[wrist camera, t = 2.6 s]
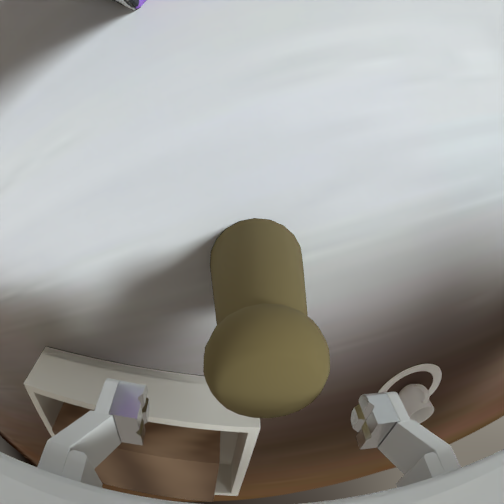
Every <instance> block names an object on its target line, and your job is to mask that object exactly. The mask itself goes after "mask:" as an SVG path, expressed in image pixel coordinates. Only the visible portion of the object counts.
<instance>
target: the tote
mask: <svg viewBox="0 0 504 504" xmlns="http://www.w3.org/2000/svg"><path fill="white" fill-rule="evenodd" d="M107 378H110V379H115V380H120V381H125V382H130V383H135V384H141V385H146V386H147V390H148V393H147V398H148V399H149V416H148V422H154V423H160V424H166V425H173V426H180V427H188V428H197V429H206V430H216V431H221V432H220V464H219V470H218V476H217V482H216V488H215V493H214V495H229V496H238V493H239V490H240V487H241V485H242V482H243V479H244V476H245V473H246V470H247V467H248V464H249V461H250V458H251V455H252V452H253V449H254V446H255V443H256V440H257V437H258V434H259V431H260V418H252V417H247V416H243V415H239V414H237V413H235V412H233V411H230V410H228V409H226V408H225V407H224V406H223V405H222V404H221V403H220V402H219V401H218V400H217V399H216V398H215V397H214V396H213V394H212V393H211V391H210V389H209V387H208V385H207V382H206V380H205V376H198V375H190V374H182V373H175V372H168V371H161V370H155V369H148V368H142V367H137V366H131V365H125V364H120V363H115V362H110V361H105V360H100V359H96V358H91V357H87V356H82V355H78V354H74V353H70V352H66V351H62V350H58V349H54V348H50V347H45V349H44V350H43V352H42V353H41V355H40V357H39V358H38V360H37V362H36V363H35V365H34V367H33V368H32V370H31V372H30V373H29V375H28V377H27V379H26V380H25V382H24V386H25V388H26V390H27V392H28V394H29V396H30V398H31V400H32V402H33V404H34V406H35V408H36V410H37V412H38V413H39V415H40V417H41V419H42V421H43V423H44V424H45V426H46V428H47V430H48V431H49V433H50V435H51V437H53V436H55V434H54V433H53V431H52V428H53V426H54V423H55V421H56V419H57V416H58V414H59V412H60V409H61V407H62V405H63V403H64V402H66V403H69V404H73V405H77V406H80V407H84V408H88V409H92V410H95V407H96V404H97V401H98V399H99V396H100V393H101V390H102V387H103V385H104V382H105V380H106V379H107Z"/></svg>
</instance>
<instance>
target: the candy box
mask: <svg viewBox="0 0 504 504" xmlns="http://www.w3.org/2000/svg"><path fill="white" fill-rule="evenodd" d="M113 1H115V2H117V3H120V4H122V5H124V6H126V7H128V8H130V9H133V10H137V9H138V8H140V7H141V6H142V5H143V4H144V2H145V1H146V0H113Z"/></svg>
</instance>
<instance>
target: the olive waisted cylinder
mask: <svg viewBox="0 0 504 504" xmlns="http://www.w3.org/2000/svg"><path fill="white" fill-rule="evenodd" d="M210 268H211V278H212V287H213V295H214V304H215V312H216V321H217V326H216V328H215V329H214V331H213V333H212V335H211V337H210V339H209V341H208V343H207V345H206V347H205V353H204V376H205V380H206V382H207V385H208V387H209V389H210V391H211V393H212V394H213V396H214V397H215V398H216V399H217V400H218V401H219V402H220V403H221V404H222V405H223V406H224V407H225V408H226V409H228V410H230V411H233V412H235V413H237V414H239V415H243V416H247V417H252V418H274V417H280V416H286V415H289V414H291V413H294V412H297V411H299V410H301V409H303V408H304V407H306V406H307V405H309V404H310V403H312V402H313V401H314V400H315V399H316V397H317V396H318V395H319V394H320V393H321V391H322V389H323V387H324V385H325V383H326V380H327V378H328V375H329V373H330V357H329V348H328V345H327V342H326V340H325V338H324V336H323V334H322V333H321V331H320V329H319V328H318V326H317V325H316V324H315V323H314V321H313V320H312V319H310V318H309V317H308V316H307V305H306V293H305V282H304V272H303V262H302V254H301V247H300V245H299V243H298V241H297V240H296V238H295V236H294V235H293V234H292V233H291V232H290V231H289V230H288V229H287V228H286V227H284V226H283V225H281V224H278V223H276V222H274V221H271V220H267V219H257V218H253V219H248V220H244V221H239V222H237V223H236V224H234V225H232V226H230V227H228V228H226V229H225V230H224V232H223V233H222V234H221V235H220V236H219V237H218V238H217V239H216V241H215V244H214V246H213V248H212V250H211V259H210Z"/></svg>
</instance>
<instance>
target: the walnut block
mask: <svg viewBox="0 0 504 504" xmlns="http://www.w3.org/2000/svg"><path fill="white" fill-rule="evenodd" d="M90 410H92V409H88V408H84V407H80V406H77V405H73V404H69V403H66V402H64V403H63V405H62V407H61V409H60V412H59V414H58V416H57V419H56V421H55V423H54V426H53V428H52V431H53V433H54V434H55V435H56V434H57V433H59V432H60V431H62V430H63V429H65V428H66V427H67V426H69V425H70V424H72V423H73V422H75V421H76V420H77V419H79V418H80V417H82V416H83V415H85V414H86V413H87V412H89V411H90ZM92 411H94V410H92ZM144 425H145V431H146V432H145V437H144V442H143V445H136V444H130V443H124V442H121V444H120V445H119V446H118V447H117V448H116V449H115V450H114V451H113V452H111V453H110V454H109V455H108V456H107V457H106V458H105V459H104V460H103V461H102V462H101V463H100V464H99V465H98V466H97V467H96V468H95V469H94V470H95V472H96V473H97V475H98V477H99V479H100V480H101V482H102V483H103V484H107V485H111V486H115V487H119V488H124V489H128V490H133V491H138V492H143V493H148V494H154V495H160V496H166V497H173V498H180V499H188V500H197V501H208V502H213V499H214V493H215V488H216V482H217V476H218V470H219V464H220V432H221V431H216V430H206V429H197V428H188V427H180V426H173V425H166V424H160V423H154V422H147V423H146V424H144Z"/></svg>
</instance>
